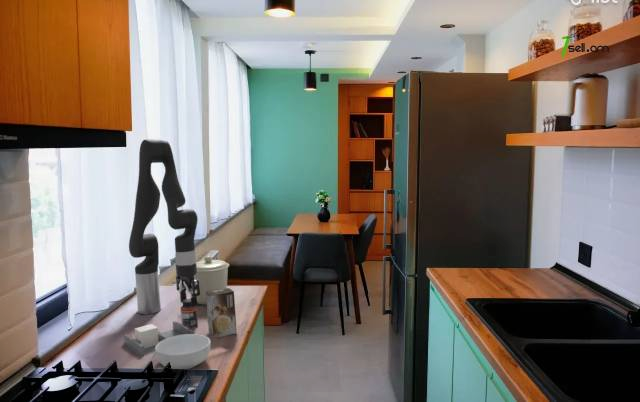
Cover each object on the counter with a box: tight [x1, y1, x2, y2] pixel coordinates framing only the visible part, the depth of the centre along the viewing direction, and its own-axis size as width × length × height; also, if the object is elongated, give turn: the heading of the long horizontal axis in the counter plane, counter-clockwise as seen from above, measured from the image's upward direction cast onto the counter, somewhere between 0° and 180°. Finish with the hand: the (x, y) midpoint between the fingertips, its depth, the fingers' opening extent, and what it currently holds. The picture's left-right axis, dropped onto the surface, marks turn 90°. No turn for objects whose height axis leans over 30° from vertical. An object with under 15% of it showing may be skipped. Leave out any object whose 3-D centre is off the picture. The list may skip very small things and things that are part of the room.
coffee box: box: [206, 287, 238, 339], centre depth 180 cm, size 9×6×16 cm
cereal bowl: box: [155, 333, 212, 370], centre depth 155 cm, size 17×17×7 cm
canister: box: [194, 255, 230, 306], centre depth 220 cm, size 18×18×21 cm
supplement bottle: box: [180, 298, 199, 329], centre depth 186 cm, size 6×6×11 cm
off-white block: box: [134, 323, 159, 349], centre depth 168 cm, size 5×6×6 cm
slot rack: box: [123, 320, 195, 357], centre depth 171 cm, size 15×20×4 cm
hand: (189, 304), depth 186 cm, fingers open, 8 cm apart
